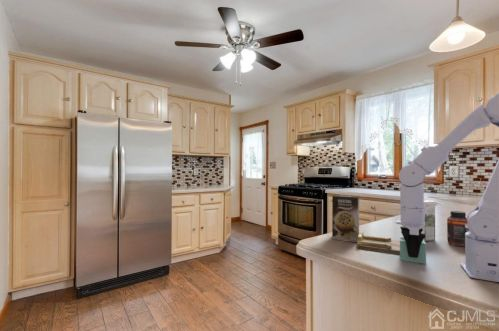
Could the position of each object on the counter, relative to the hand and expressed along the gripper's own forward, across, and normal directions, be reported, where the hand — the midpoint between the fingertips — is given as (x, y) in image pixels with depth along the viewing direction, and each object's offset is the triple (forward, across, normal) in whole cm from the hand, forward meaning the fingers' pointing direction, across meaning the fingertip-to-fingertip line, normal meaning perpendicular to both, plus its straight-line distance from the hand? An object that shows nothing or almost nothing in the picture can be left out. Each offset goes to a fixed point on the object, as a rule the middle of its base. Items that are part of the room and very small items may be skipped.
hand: (412, 254), depth 73 cm
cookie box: (+2, -13, -20) cm, 24 cm away
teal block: (+1, 0, 0) cm, 1 cm away
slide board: (+1, -9, -6) cm, 11 cm away
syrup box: (+2, -26, +5) cm, 27 cm away
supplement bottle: (+2, -24, +15) cm, 28 cm away
